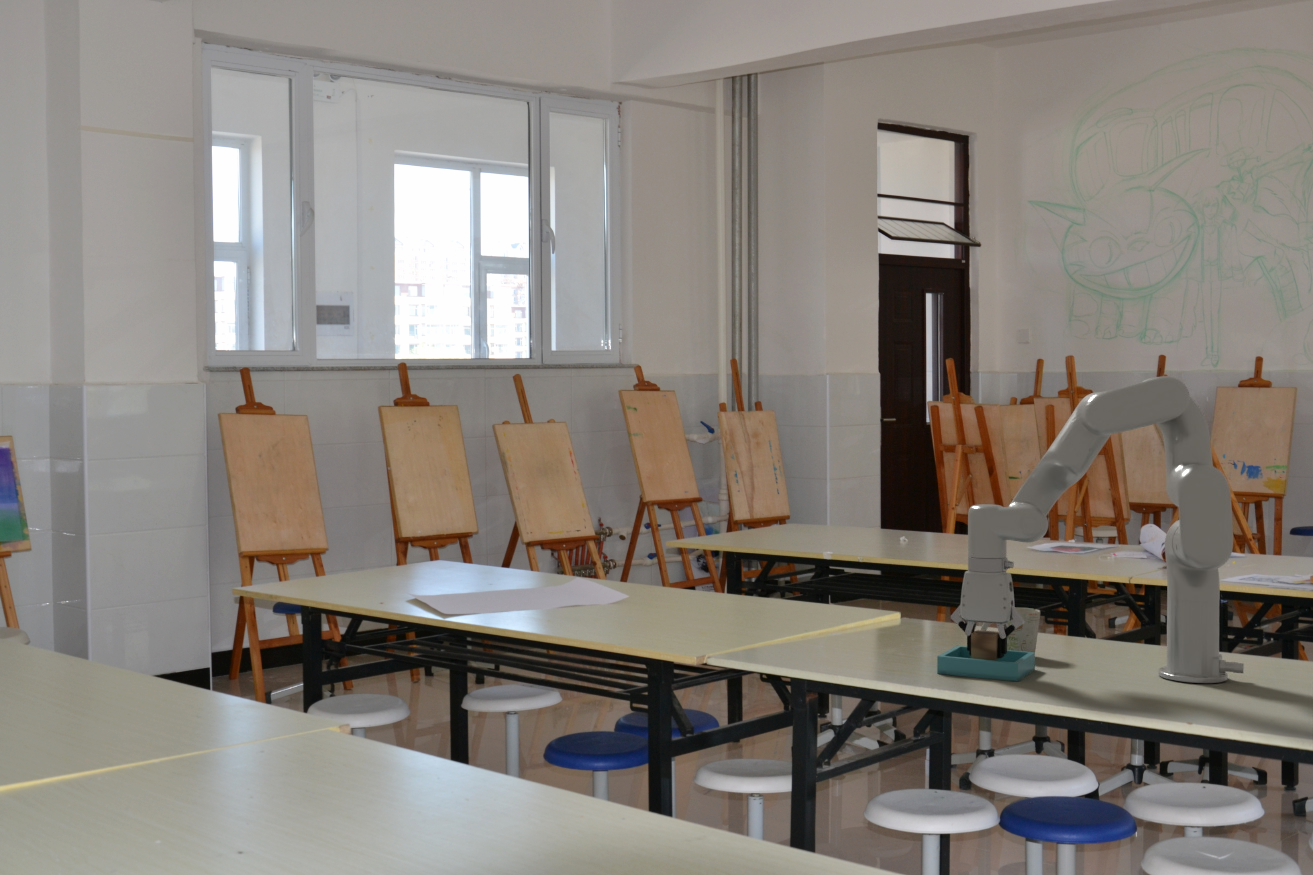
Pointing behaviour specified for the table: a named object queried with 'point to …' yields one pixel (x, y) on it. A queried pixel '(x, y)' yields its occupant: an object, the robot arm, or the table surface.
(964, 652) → the tray
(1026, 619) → the mug
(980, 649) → the block
